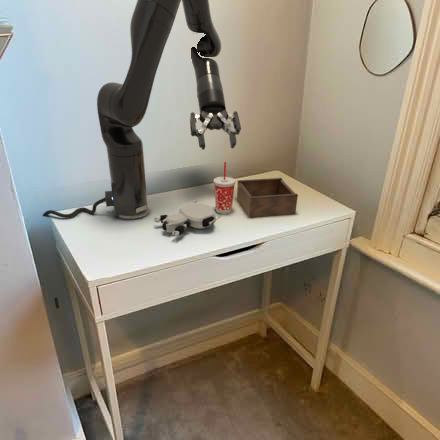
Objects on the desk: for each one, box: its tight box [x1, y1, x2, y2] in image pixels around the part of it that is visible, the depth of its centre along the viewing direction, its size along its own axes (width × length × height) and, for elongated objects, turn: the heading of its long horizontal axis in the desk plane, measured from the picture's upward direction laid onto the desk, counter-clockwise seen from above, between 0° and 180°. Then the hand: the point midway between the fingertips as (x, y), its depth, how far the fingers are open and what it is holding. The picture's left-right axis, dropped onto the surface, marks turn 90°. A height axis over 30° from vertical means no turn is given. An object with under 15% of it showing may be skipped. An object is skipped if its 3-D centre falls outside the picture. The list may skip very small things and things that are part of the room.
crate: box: [236, 177, 299, 218], centre depth 127 cm, size 14×14×6 cm
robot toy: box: [153, 199, 223, 237], centre depth 115 cm, size 12×4×15 cm
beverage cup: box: [213, 161, 236, 215], centre depth 122 cm, size 6×6×14 cm
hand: (218, 147), depth 123 cm, fingers open, 8 cm apart
